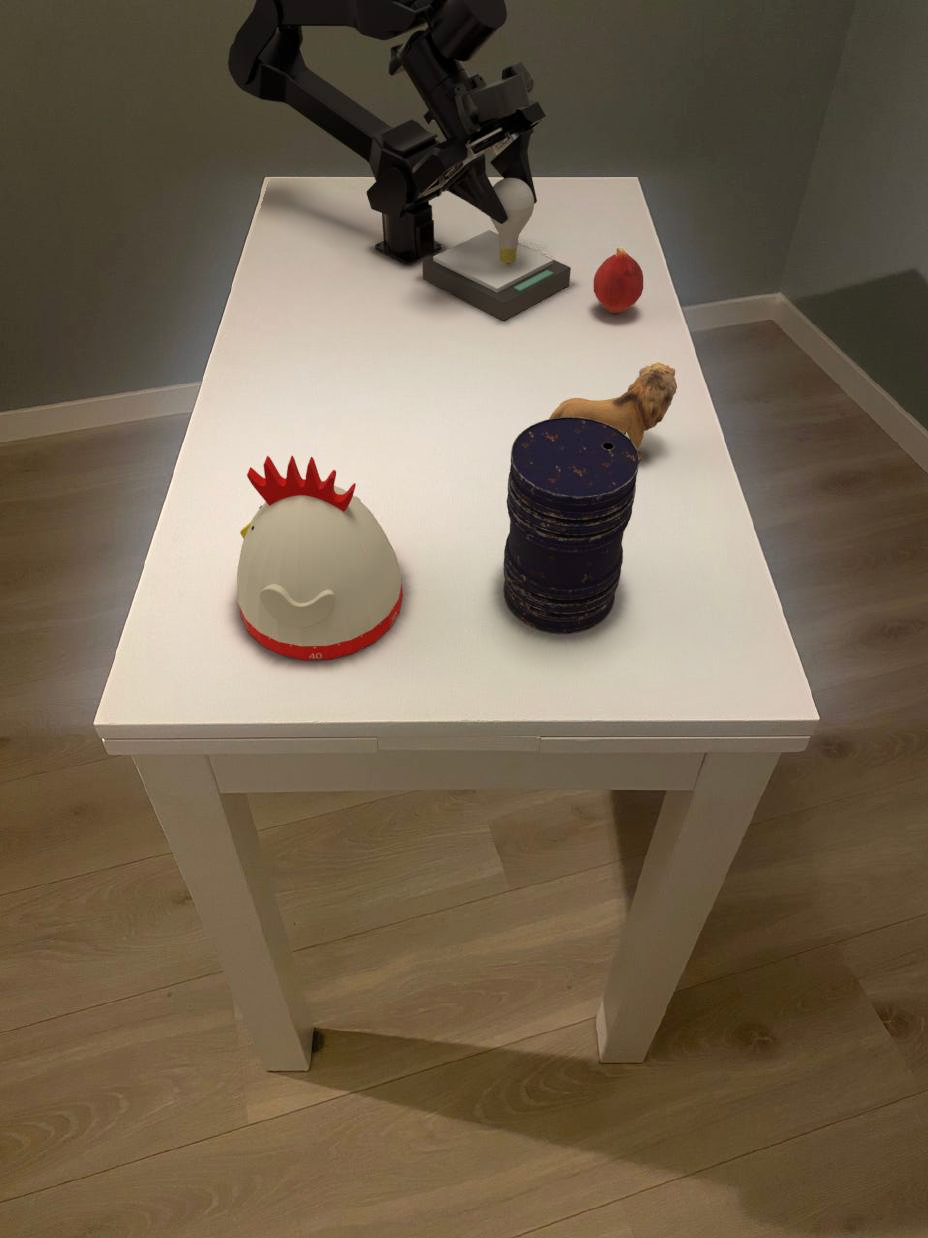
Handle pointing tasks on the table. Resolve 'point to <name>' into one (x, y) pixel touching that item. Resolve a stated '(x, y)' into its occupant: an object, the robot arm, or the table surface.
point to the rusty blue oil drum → (567, 522)
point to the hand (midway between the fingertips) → (519, 213)
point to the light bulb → (512, 214)
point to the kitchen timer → (315, 567)
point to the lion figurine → (629, 404)
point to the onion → (618, 282)
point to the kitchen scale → (495, 275)
